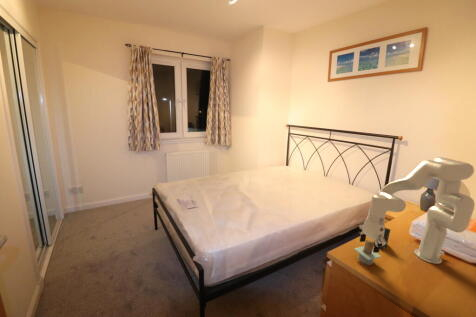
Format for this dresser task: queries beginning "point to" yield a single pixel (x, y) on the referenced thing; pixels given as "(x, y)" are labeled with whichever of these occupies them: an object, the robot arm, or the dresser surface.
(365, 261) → the cup
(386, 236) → the phone stand
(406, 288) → the dresser surface
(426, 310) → the dresser surface
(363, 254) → the lid
